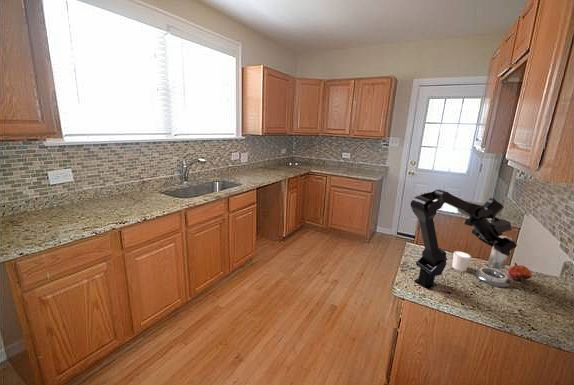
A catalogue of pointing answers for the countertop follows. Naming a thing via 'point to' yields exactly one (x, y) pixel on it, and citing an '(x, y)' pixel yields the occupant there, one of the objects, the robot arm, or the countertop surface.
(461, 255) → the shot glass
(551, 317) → the countertop surface
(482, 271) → the collar
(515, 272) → the pomegranate
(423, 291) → the countertop surface
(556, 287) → the countertop surface
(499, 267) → the clear drinking glass
